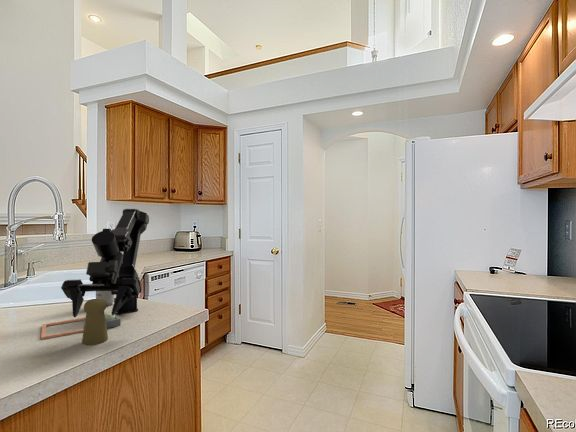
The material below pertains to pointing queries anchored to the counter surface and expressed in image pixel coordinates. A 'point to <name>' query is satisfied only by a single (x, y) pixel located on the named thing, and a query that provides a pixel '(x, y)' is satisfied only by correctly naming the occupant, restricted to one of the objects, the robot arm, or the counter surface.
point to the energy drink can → (105, 296)
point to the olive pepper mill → (95, 322)
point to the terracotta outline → (44, 336)
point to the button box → (113, 322)
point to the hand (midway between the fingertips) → (93, 315)
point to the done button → (109, 316)
